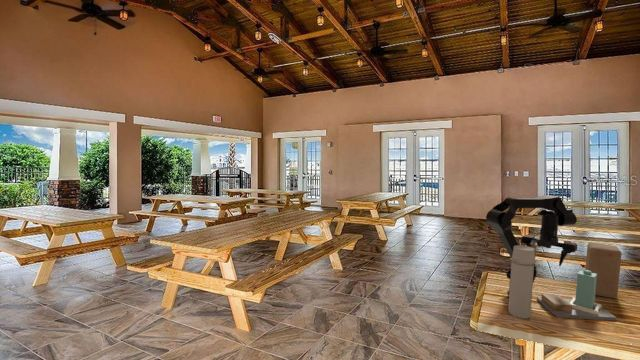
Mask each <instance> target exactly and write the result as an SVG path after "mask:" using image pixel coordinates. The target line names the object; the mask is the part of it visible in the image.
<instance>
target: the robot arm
mask: <svg viewBox="0 0 640 360" xmlns="http://www.w3.org/2000/svg"><path fill="white" fill-rule="evenodd" d="M518 209H541V210H539V212H537V215H538V216H541V220H540V221H541V223H540V230H539V234H538V235H537V237H536V236H535V235H531V234H524V235H522V237H521V238H520V243H522V244H523V246H529V247H532V248H534V252H535V256H536V255H537V254H536V251H537V249H536V246H537V247H542V248H546V249H551V248H552V247H556V248H561V249H562V250H561V251H560V257H559V262H558V267H561V266H562V264H563V263H564V260H565V259H566V257H567V255H568V254H569V255H570V254H572V253H575V252H576V251H577V250H578V244H577V242H572V241H568V240H565V241H564V242H559V236H558V230H559V226H560V227H566V226H574V225H576V223H577V221H578V218H577V216H576V214H575V213H574V210H573V209H571V208H567V207H566V205H565V203H564V202H563V199H562V197H559V196H554V195H548V194H544V195H540V196H538V197H506V198H505V199H503V201H501V202H500V203H497V204H496V205H494V206H493V207H492V209H490V210H489V211H488V212H487V214H486V215H485V220H486V222H487V223H488V224H489V225H490V227H491V228H492V229H494V231H496V232H497V234H498V236H499V237H500V239H501V241H502V244H503V245H504V248H505V249H506V252H507V253H508V255H509V257H510V258H512V254H513V249H514V246H516V245H519V243H518V241H517V238H516V236H515V234H514V233H513V231H512V225H513V223H512V220H513V219H514V218H515V217H516V213H517V210H518ZM506 210H507V211H506ZM504 211H506V212H504ZM511 263H512V261H511V262H510V264H511ZM537 269H538V267H537V266H536V265H535V264H534V273H533V283H534V281H535V280H536V277H537V273H538V272H537ZM505 275H506V278H507V279H509V280H510V278H511V268H510V269H509V270H507V272H506V273H505ZM508 285H509V286H508V287H509V289H508V290H507V291H506V292H507V294H510V284H508Z"/></svg>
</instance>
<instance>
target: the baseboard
mask: <svg viewBox="0 0 640 360" xmlns="http://www.w3.org/2000/svg"><path fill="white" fill-rule="evenodd" d="M541 298H542V296H541V297H539V296H537V298H536V301H538V302H539V304H541V305H542V306H544V307H545V309H547V310H548V311H549V312H550V313H552V315H554V316H555V317H556V318H563V319H580V320H599V321H614V322H615V321H617V317H616V316H615V315H614V314H613V313H611V312H609V311H608V310H607V309H605V308H603V304H600V303H597V302H594V308H593V310H592V309H589V308H585V307H582V306H578V305H575V300H576V297H574V296H573V297H571V298H563V297H562V298H563V299H565V300H566V301H567V302H569V303H570V304H572V312H567V311H554V310H553V309H552V308H550V307H549V306H548V305H547V304H546V303H544V302H543V301H542V300H541Z"/></svg>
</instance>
